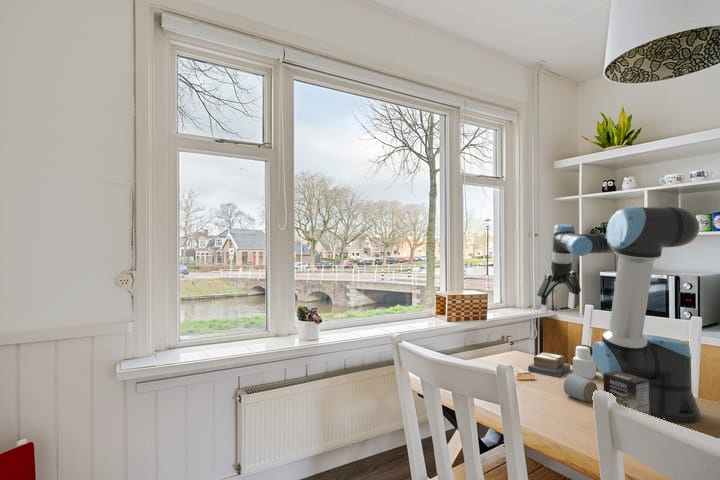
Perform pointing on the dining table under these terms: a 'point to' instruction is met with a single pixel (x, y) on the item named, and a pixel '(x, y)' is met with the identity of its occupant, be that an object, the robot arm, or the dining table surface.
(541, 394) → the dining table surface
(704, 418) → the dining table surface
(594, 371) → the medicine bottle
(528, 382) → the dining table surface
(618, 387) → the coffee box
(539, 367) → the pedestal stand
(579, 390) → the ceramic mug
